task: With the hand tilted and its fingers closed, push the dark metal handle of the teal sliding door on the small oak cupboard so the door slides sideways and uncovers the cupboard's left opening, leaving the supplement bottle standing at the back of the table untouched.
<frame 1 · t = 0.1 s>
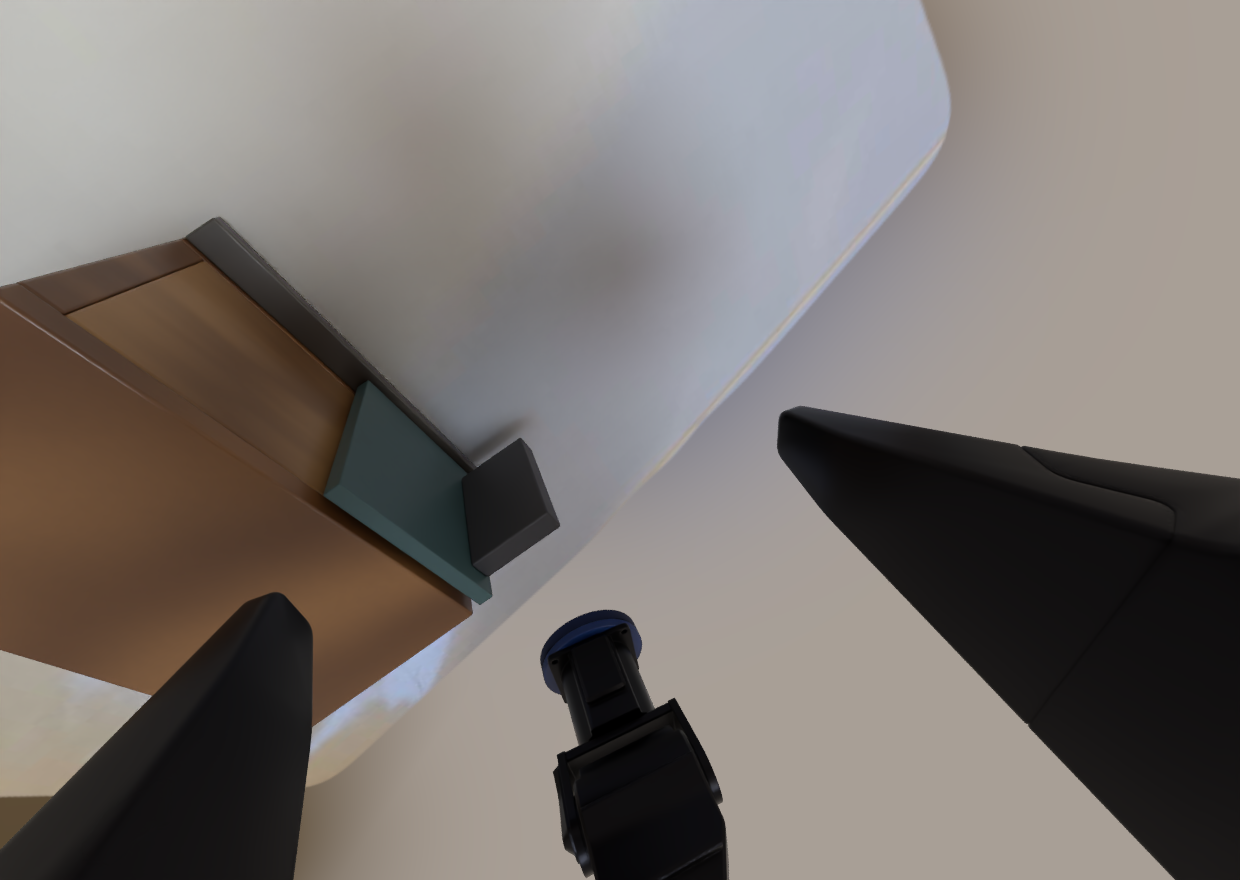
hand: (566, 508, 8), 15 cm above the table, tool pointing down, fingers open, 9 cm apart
cupboard: (278, 436, 20), on the table
sliding door: (456, 460, 18), point 5 cm above the table, slide at 0.0 cm
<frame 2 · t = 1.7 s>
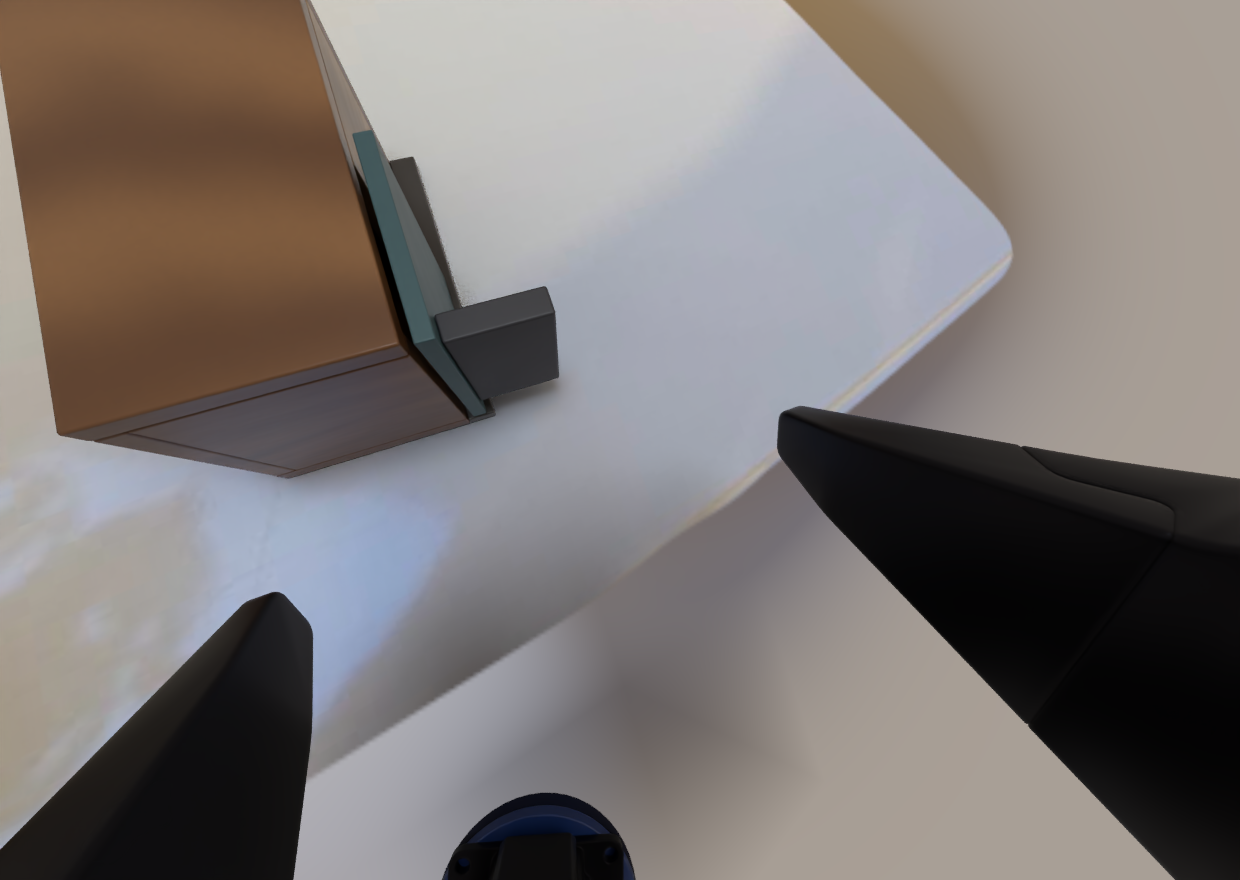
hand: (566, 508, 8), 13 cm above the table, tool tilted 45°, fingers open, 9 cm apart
cupboard: (344, 311, 21), on the table
sliding door: (479, 289, 17), point 5 cm above the table, slide at 0.0 cm
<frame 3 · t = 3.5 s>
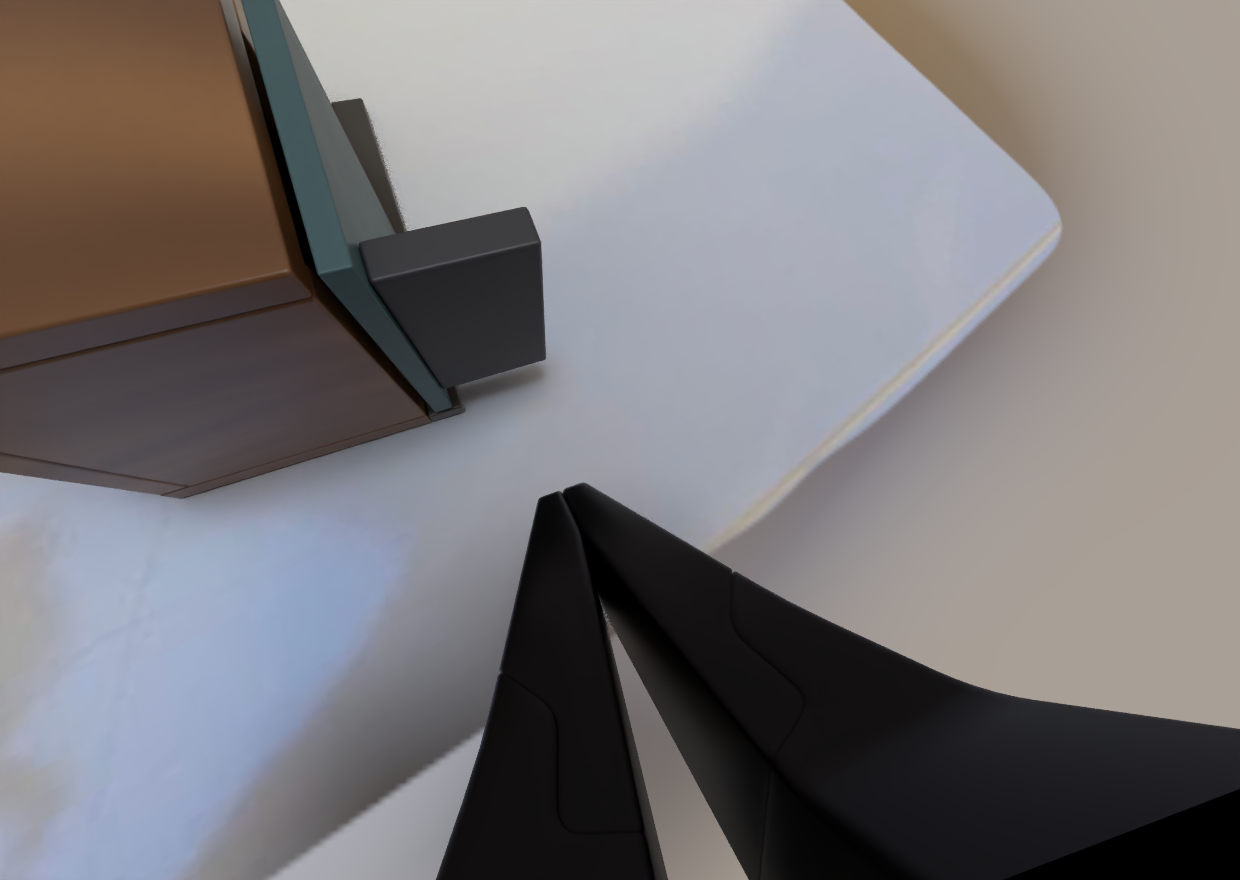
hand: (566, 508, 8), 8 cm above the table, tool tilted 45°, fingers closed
cupboard: (268, 283, 16), on the table
sliding door: (437, 236, 13), point 5 cm above the table, slide at 0.0 cm
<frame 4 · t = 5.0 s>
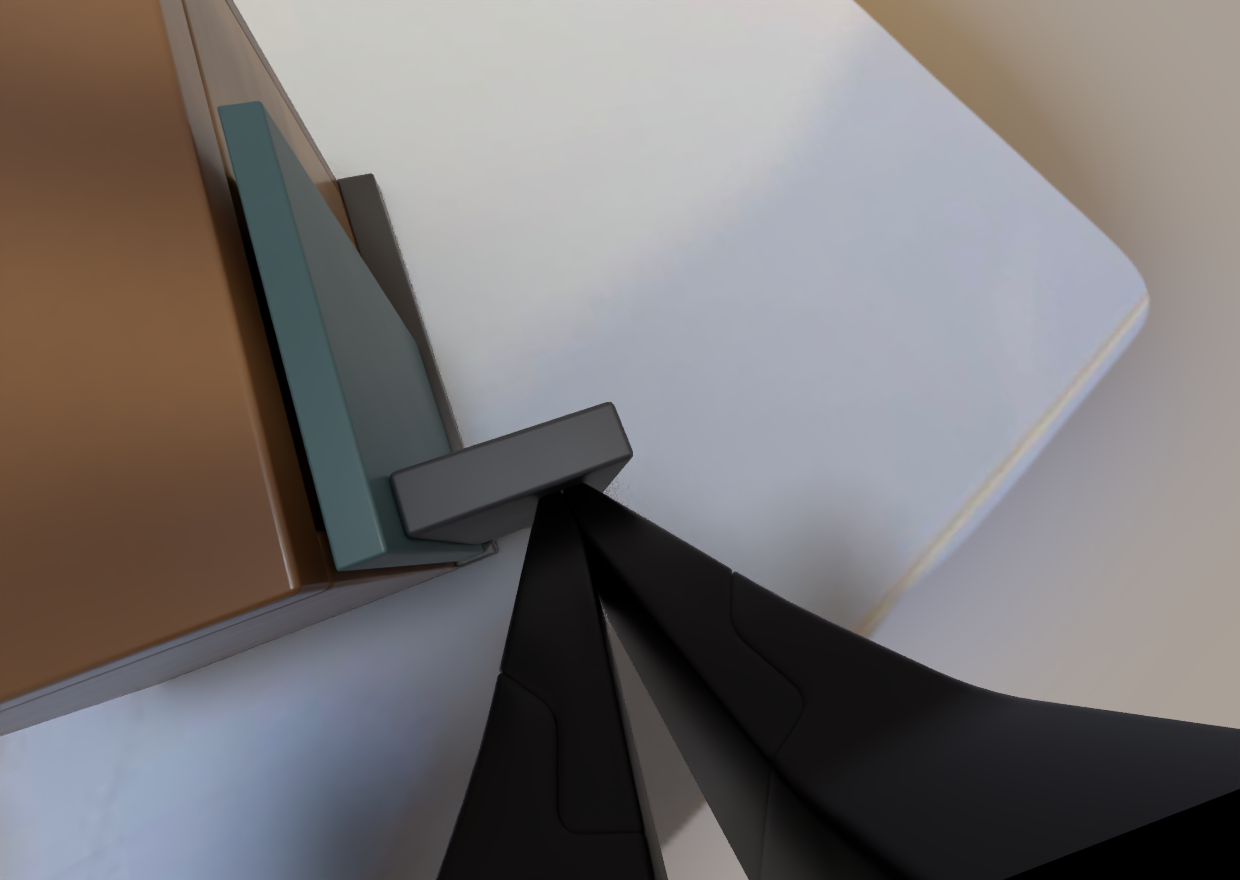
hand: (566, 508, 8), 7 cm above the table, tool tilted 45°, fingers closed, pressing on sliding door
cupboard: (264, 400, 14), on the table
sliding door: (474, 381, 10), point 5 cm above the table, slide at 0.1 cm, touching gripper
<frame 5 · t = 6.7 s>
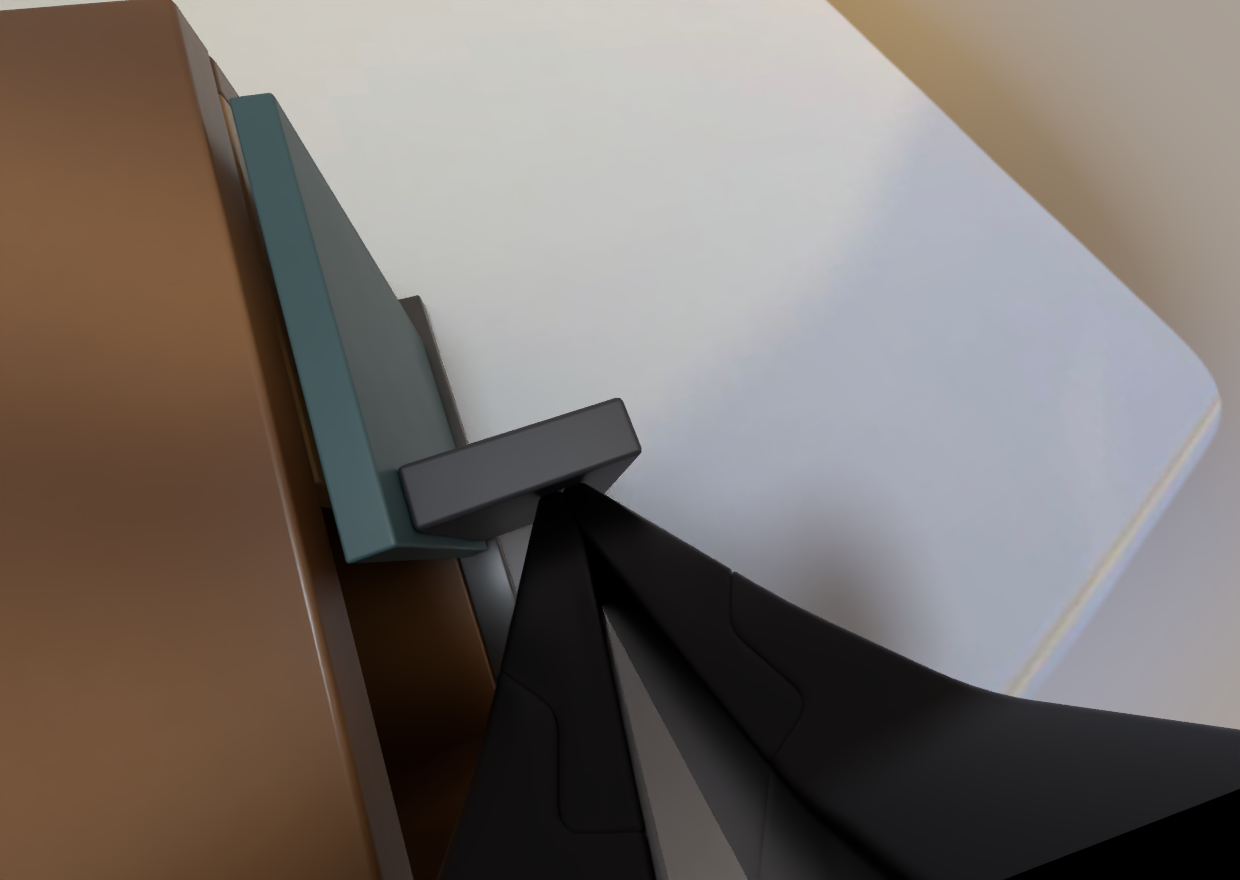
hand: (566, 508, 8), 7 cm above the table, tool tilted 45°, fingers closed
cupboard: (308, 555, 13), on the table
sliding door: (481, 377, 10), point 5 cm above the table, slide at 5.3 cm
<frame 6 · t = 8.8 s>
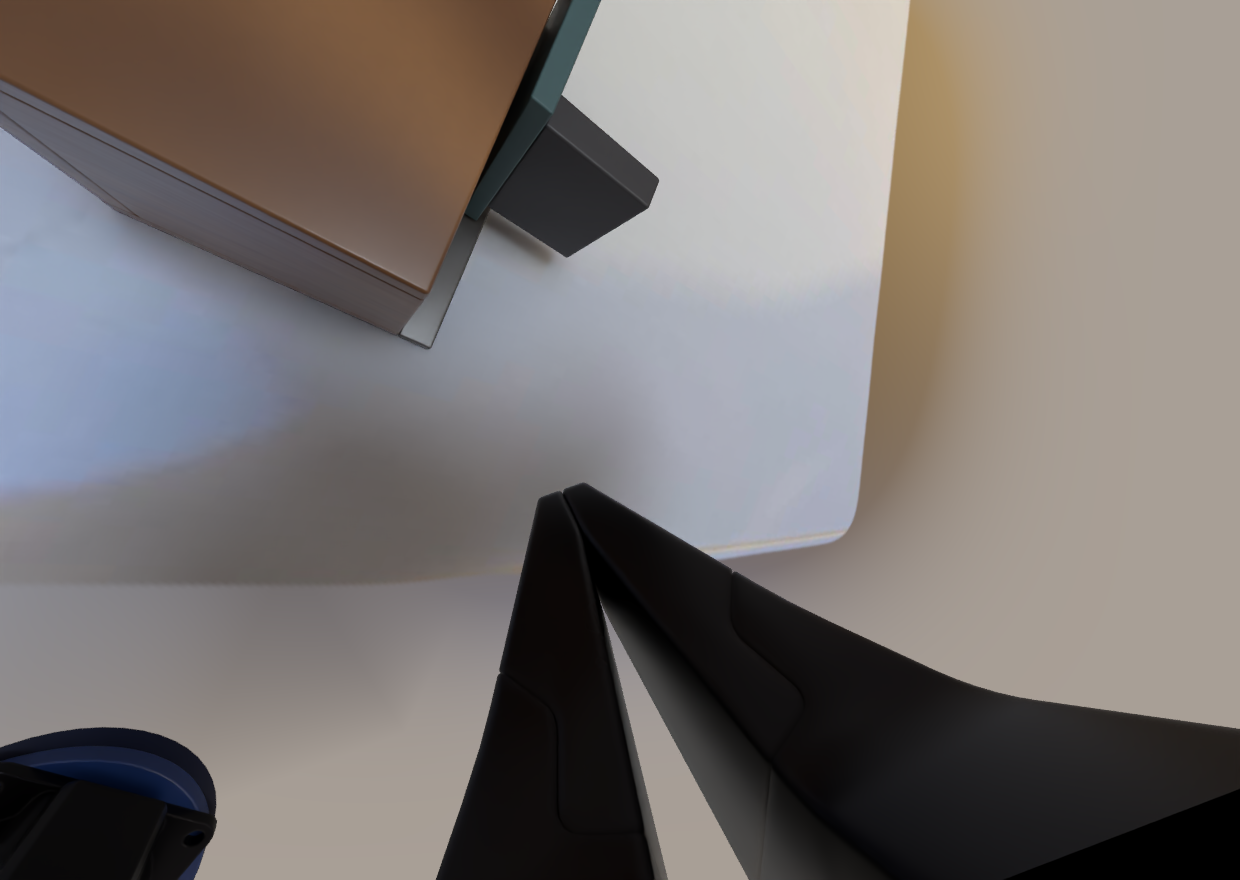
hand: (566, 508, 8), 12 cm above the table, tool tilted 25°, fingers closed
cupboard: (357, 102, 16), on the table
sliding door: (583, 117, 15), point 5 cm above the table, slide at 5.3 cm
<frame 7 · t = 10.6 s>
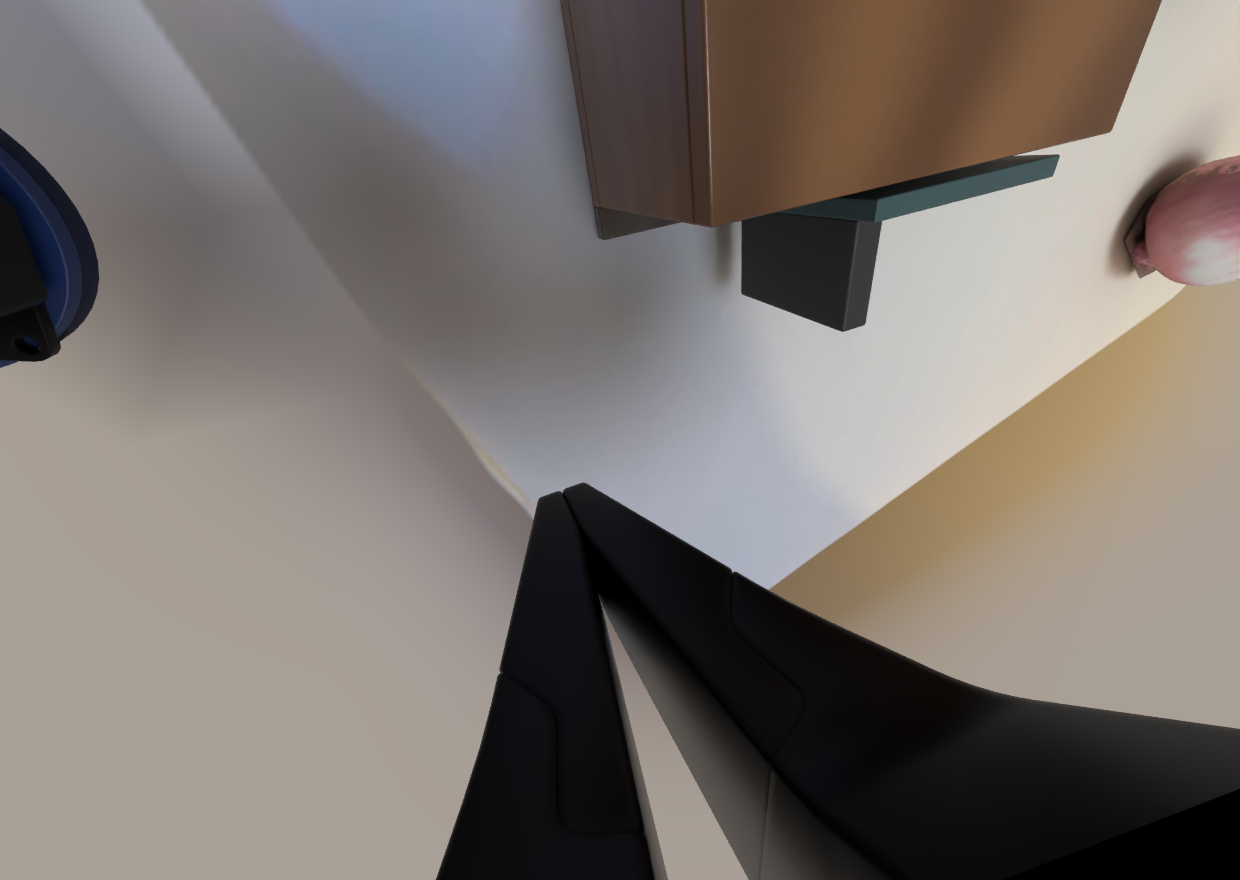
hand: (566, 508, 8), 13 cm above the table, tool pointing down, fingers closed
cupboard: (745, 54, 17), on the table
onion: (1148, 219, 31), on the table
sliding door: (856, 236, 17), point 5 cm above the table, slide at 5.3 cm
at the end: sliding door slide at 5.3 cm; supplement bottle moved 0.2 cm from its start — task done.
